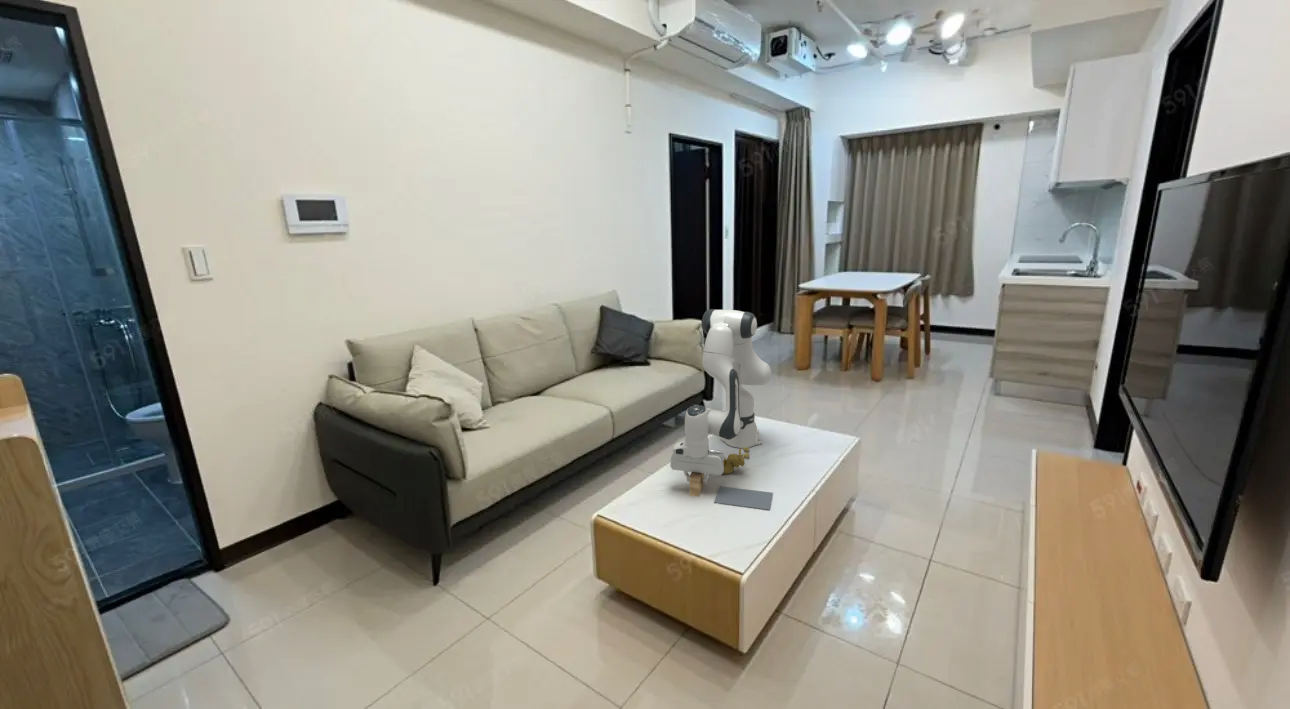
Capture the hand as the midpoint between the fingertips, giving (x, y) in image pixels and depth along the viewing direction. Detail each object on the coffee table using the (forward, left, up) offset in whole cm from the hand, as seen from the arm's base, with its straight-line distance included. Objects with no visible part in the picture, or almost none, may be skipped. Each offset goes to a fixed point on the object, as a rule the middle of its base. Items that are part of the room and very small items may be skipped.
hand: (697, 481), depth 202 cm
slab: (0, 0, -3) cm, 3 cm away
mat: (+2, +18, -3) cm, 18 cm away
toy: (-17, +7, -4) cm, 19 cm away
